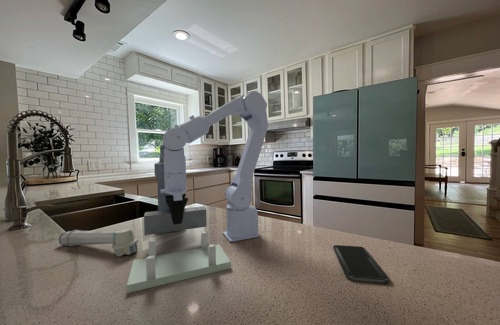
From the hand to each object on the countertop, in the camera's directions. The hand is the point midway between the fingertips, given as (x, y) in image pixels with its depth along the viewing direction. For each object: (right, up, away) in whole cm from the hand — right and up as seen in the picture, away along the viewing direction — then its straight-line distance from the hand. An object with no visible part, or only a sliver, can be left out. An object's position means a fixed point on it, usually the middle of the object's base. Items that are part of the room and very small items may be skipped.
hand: (176, 221), depth 58 cm
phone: (+45, -7, -11) cm, 47 cm away
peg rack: (+5, -7, -12) cm, 15 cm away
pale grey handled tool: (-21, -8, -1) cm, 23 cm away
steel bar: (0, -2, 0) cm, 2 cm away
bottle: (-7, -7, +15) cm, 17 cm away
